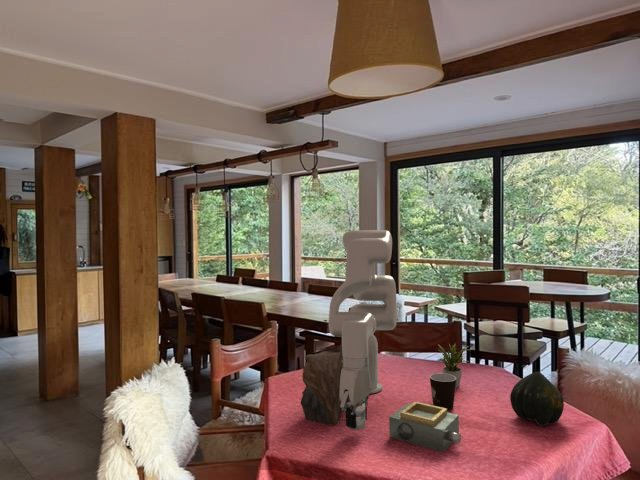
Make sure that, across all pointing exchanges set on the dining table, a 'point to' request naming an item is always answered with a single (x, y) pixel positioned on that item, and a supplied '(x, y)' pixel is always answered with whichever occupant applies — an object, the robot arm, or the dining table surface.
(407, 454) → the dining table surface
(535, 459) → the dining table surface
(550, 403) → the squash
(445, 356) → the house plant
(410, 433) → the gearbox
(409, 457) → the dining table surface
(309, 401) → the brown rock
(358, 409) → the silver lidded pot
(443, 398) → the coffee mug
